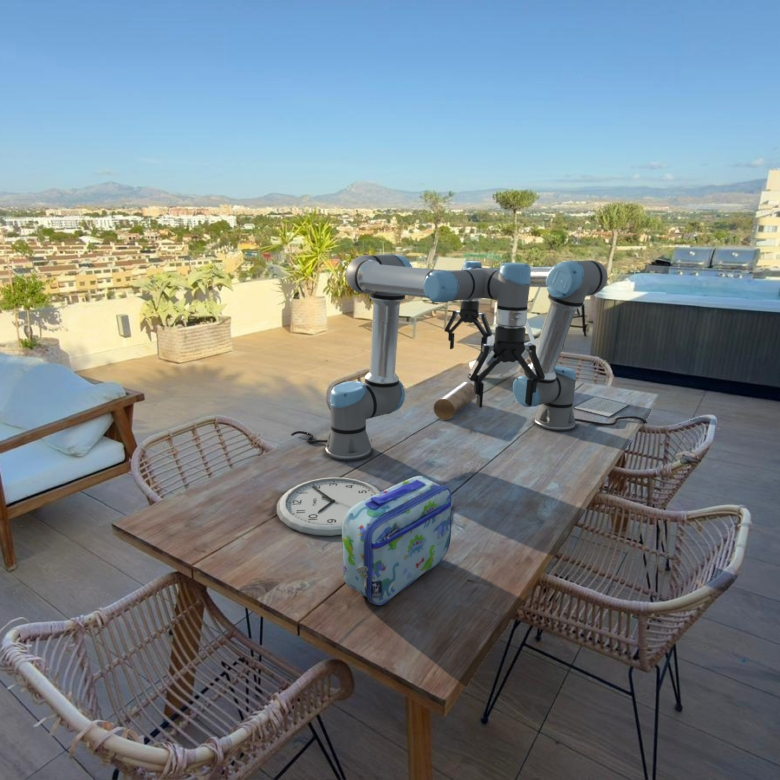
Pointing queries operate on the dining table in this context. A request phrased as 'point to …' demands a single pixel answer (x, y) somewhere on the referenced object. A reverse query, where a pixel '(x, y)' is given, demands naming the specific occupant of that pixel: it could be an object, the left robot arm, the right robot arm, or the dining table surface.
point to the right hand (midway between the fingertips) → (466, 350)
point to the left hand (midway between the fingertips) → (503, 405)
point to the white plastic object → (506, 366)
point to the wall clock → (322, 504)
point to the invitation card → (601, 406)
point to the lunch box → (395, 537)
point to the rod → (454, 401)
